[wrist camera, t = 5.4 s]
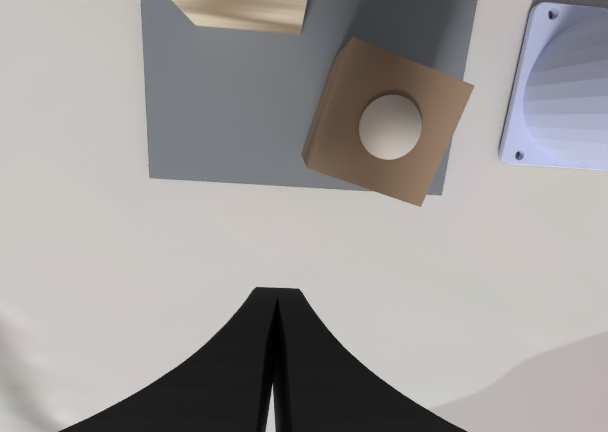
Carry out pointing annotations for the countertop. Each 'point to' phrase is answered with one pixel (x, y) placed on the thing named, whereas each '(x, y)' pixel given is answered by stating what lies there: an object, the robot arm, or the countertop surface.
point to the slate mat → (274, 84)
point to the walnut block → (384, 121)
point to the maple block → (247, 14)
